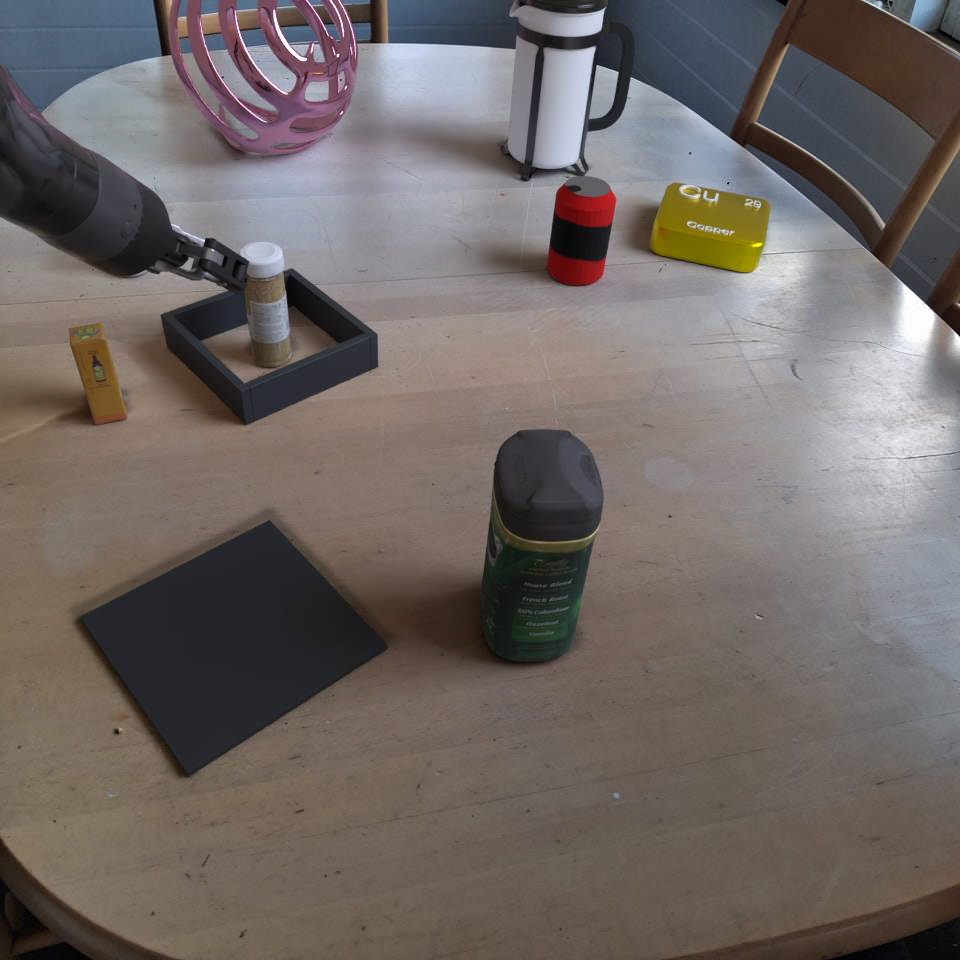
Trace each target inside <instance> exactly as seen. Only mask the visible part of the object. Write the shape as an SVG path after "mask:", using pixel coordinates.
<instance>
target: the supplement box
mask: <svg viewBox="0 0 960 960" xmlns="http://www.w3.org/2000/svg"><path fill="white" fill-rule="evenodd" d="M68 334H69V336H68V337H69V347H70V349H71V352H72V356H73V359H74V361H75V364H76V368H77V371H78V374H79V377H80V381H81V384H82V387H83V391H84V394H85V397H86V400H87V403H88V407H89V410H90V413H91V416H92V420H93V424H94V425H96V426H98V425H103V424H108V423H112V422H115V421H116V422H117V421H124V420H127V419H128V413H127V408H126V404H125V400H124V396H123V393H122V389H121V386H120V382H119V378H118V375H117V371H116V368H115V364H114V361H113V358H112V357H113V356H112V353H111V350H110V347H109V344H108V340H107V337H106V333H105V330H104V326H103V325H102V323H101V322H97V323H91V324H86V325H79V326H75V327H69V328H68Z"/></svg>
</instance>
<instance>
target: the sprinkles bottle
mask: <svg viewBox="0 0 960 960" xmlns="http://www.w3.org/2000/svg"><path fill="white" fill-rule="evenodd" d="M237 254H239V255H240V256H242V257H244V258H246V259H247V260H248V261H249V265H248V269H247V274H248V275H249V278H248V281H247V285H246V289H245V298H246V308H247V318H248V323H247V325H248V333H249V336H250V344H251V359H252V360H253V361H254V362H255V363H256V364H257V365H259V366H261V367H263V368H264V367H266V368H278V367H283V366H285V365H286V364H288V362H290V361H291V359H292V358H293V350H292V348H291V337H290V331H291V330H290V319H289V318H290V317H289V310H288V309H289V308H287V298H286V291H285V283H284V274H283V271H285V270H284V269H285V258H284V252H283V249H282V248H281V247H280V246H279V245H278V244H275V243H273V242H270V241H255V242H250V243H247V244H245V245H244V246H242V247H241V248H240V249H239V251H238V252H237Z"/></svg>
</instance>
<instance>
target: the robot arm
mask: <svg viewBox="0 0 960 960" xmlns="http://www.w3.org/2000/svg"><path fill="white" fill-rule="evenodd" d="M0 219H3V220H5V221H7V222H8V223H10V224H13V225H15V226H17V227H19V228H21V229H23V230H25V231H27V232H28V233H31V234H32V235H34V236H36V237H37V238H39V239H40V240H41V241H42V242H44V243H46V244H47V245H49V246H50V247H51V248H54V249H56V250H58V251H59V252H62V253H64V254H66V255H68V256H70V257H72V258H74V259H76V260H78V261H80V262H82V263H85V264H87V265H89V266H91V267H92V268H95V269H97V270H99V271H101V272H103V273H105V274H108V275H111V276H114V277H122V276H123V278H125V277H124V276H132V275H136V274H139V273H141V272H143V271H145V270H147V271H148V273H151V274H155V275H160V274H161V273H165V272H166V273H168V272H169V273H171V274H173V275H177V276H179V277H181V278H184V279H187V280H190V281H192V282H194V281H196V282H198V281H199V282H200V281H202V280H206V281H209V282H211V283H213V284H216V286H217V287H222V288H224V289H225V290H226V291H230V292H232V293H235V294H239V295H240V294H242V292H243V291H245V289H246V285H247V281H248V278H249V275H248V274H247V269H248V265H249V261H248V260H247V259H246V258H244V257H242V256H240V255H239V254H238V252H236V251H234V250H233V249H231V248H229V247H228V246H226V245H224V244H223V243H221V242H220V241H219V240H217V239H216V238H213V237H205V239H203V238H201V237H198V236H197V235H193V234H191V233H188V232H186V231H184V230H183V229H182V228H181V226H179V225H177V224H175V223H172V222H171V219H170V216H169V212H168V209H167V207H166V205H165V203H164V201H163V200H162V199H161V197H160V196H159V195H158V194H157V193H156V192H155V191H153V189H151V188H150V187H148V186H147V185H145V184H144V183H143V182H141V181H139V180H138V179H137V178H136V177H134V176H132V175H131V174H130V173H128V172H126V171H125V170H124V169H122V168H121V167H119V166H118V165H117V164H115V163H114V162H112V161H110V160H109V159H108V158H106V157H105V156H103V155H101V154H100V153H98V152H96V151H94V150H92V149H89V148H87V147H85V146H83V145H82V144H80V143H79V142H77V141H75V140H74V138H71V137H69V135H67V134H65V133H64V132H62V131H61V130H60V129H58V128H57V127H55V126H53V125H52V124H50V122H49V121H48V120H47V119H46V118H45V116H44V115H43V114H42V113H41V111H39V109H38V108H37V107H36V106H35V104H34V103H33V102H32V100H30V98H29V96H28V95H26V93H25V91H23V89H22V88H21V87H20V85H19V84H18V83H17V81H16V79H15V78H14V77H13V75H12V73H10V71H9V69H8V68H7V67H6V65H5V64H4V62H3V61H2V60H1V59H0ZM189 259H193V261H192V263H191V268H190V270H188V269H185V268H183V266H184V265H185V264H186V263H187V262H188V261H189Z"/></svg>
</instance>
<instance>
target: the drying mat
mask: <svg viewBox="0 0 960 960" xmlns="http://www.w3.org/2000/svg"><path fill="white" fill-rule="evenodd" d="M79 620H80V622H81V623H82V624H83V626H84V628H85V629H86V631H87V632H88V633H89V635H90V636H91V638H92V640H93V641H94V642H95V644H96V645H97V647H98V648H99V649H100V651H101V653H102V654H103V655H104V657H105V658H106V660H107V661H108V663H109V664H110V666H111V667H112V668H113V670H114V671H115V673H116V674H117V675H118V677H119V678H120V680H121V681H122V683H123V684H124V686H125V687H126V689H127V690H128V692H129V693H130V695H131V696H132V698H133V699H134V701H135V702H136V703H137V705H138V706H139V707H140V709H141V710H142V712H143V713H144V715H145V716H146V718H147V720H148V721H149V722H150V724H151V725H152V727H153V728H154V729H155V731H156V732H157V734H158V736H159V737H160V739H161V740H162V741H163V743H164V744H165V746H166V747H167V749H168V750H169V751H170V753H171V754H172V756H173V757H174V759H175V760H176V762H177V763H178V765H179V766H180V768H181V769H182V770H183V772H184V773H185V775H186V776H187V777H188V778H189V777H191V776H193V775H194V774H196V773H198V772H199V771H200V770H202V769H203V768H205V767H207V766H208V765H209V764H211V763H213V762H214V761H216V760H218V759H219V758H221V757H222V756H223V755H226V754H227V753H228V752H230V751H231V750H233V749H235V748H236V747H237V746H239V745H241V744H242V743H243V742H246V741H247V740H248V739H250V738H252V737H253V736H255V735H256V734H258V733H259V732H261V731H262V730H264V729H266V728H267V727H268V726H270V725H272V724H273V723H275V722H276V721H278V720H279V719H281V718H283V717H284V716H286V715H287V714H289V713H290V712H292V711H293V710H295V709H297V708H298V707H300V706H301V705H303V704H304V703H306V702H308V701H309V700H310V699H312V698H313V697H316V695H318V694H320V693H322V692H323V691H325V690H326V689H327V688H329V687H331V686H332V685H334V684H335V683H337V682H338V681H340V680H341V679H343V678H344V677H346V676H348V675H350V674H351V673H352V672H354V671H355V670H357V669H358V668H360V667H362V666H364V665H365V664H366V663H368V662H369V661H371V660H372V659H374V658H376V657H377V656H378V655H380V654H383V653H384V652H385V651H387V650H388V646H389V645H388V644H387V642H386V641H385V640H384V639H383V638H382V637H381V636H380V634H378V632H377V631H376V630H374V628H372V626H370V624H369V622H367V621H366V620H365V619H364V618H363V617H362V616H361V615H360V613H358V612H357V610H356V609H355V608H354V607H353V606H352V605H351V604H350V603H349V602H348V601H347V600H346V599H345V597H344V596H343V595H341V593H339V591H338V590H336V588H335V587H334V586H333V585H332V584H331V583H330V582H329V581H328V580H327V579H326V578H325V577H324V576H323V575H322V574H321V572H319V570H318V569H317V568H316V567H315V566H314V565H313V564H312V563H311V562H310V561H309V559H307V558H306V556H305V555H304V554H302V552H301V551H300V550H299V549H298V548H297V547H296V546H295V545H294V544H293V543H292V541H290V540H289V539H288V538H287V536H286V535H285V534H284V533H283V532H282V531H281V530H280V529H279V528H278V527H277V526H276V525H275V524H274V523H273V522H272V520H270V519H268V520H266V521H264V522H263V523H260V524H258V525H257V526H254V527H253V528H250V529H248V530H247V531H245V532H243V533H240V534H238V535H237V536H235V537H233V538H230V539H229V540H227V541H225V542H223V543H221V544H219V545H217V546H215V547H213V548H211V549H210V550H208V551H205V552H204V553H201V554H199V555H197V556H196V557H194V558H192V559H190V560H187V561H186V562H184V563H181V564H180V565H178V566H176V567H174V568H172V569H171V570H168V571H166V572H164V573H163V574H161V575H158V576H157V577H155V578H153V579H151V580H149V581H146V582H145V583H143V584H141V585H139V586H137V587H135V588H133V589H131V590H129V591H127V592H126V593H122V595H119V596H118V597H115V598H114V599H112V600H110V601H108V602H106V603H104V604H102V605H99V606H98V607H96V608H94V609H92V610H90V611H87V612H86V613H84V614H82V615H80V616H79Z"/></svg>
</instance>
